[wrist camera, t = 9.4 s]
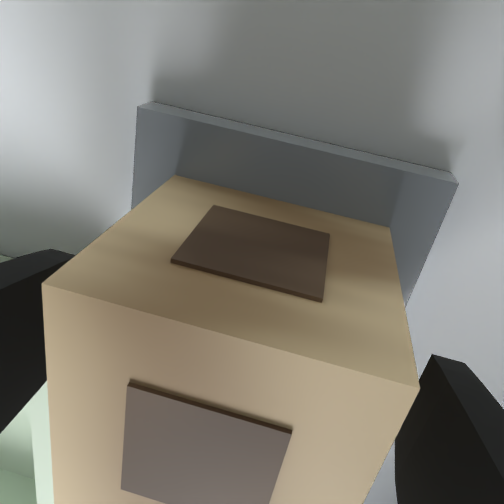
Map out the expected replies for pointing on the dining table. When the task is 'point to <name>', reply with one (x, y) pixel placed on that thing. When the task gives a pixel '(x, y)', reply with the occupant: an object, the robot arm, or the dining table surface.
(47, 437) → the sage tray
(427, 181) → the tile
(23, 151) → the dining table surface
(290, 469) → the letter cube
